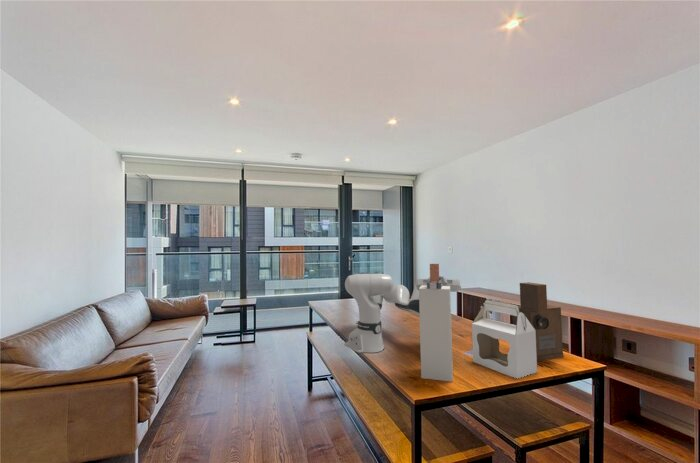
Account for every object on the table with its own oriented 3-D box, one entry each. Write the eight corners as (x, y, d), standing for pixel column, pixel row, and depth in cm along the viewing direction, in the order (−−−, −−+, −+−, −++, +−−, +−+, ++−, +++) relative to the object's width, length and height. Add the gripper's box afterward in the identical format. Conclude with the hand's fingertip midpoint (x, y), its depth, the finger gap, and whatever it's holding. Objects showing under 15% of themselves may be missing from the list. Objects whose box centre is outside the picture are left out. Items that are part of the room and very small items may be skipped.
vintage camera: (539, 365, 138) (535, 285, 140) (513, 355, 152) (510, 282, 154) (571, 360, 144) (568, 283, 146) (544, 350, 158) (541, 280, 159)
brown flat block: (433, 282, 148) (432, 261, 148) (441, 282, 147) (440, 261, 147) (428, 290, 123) (427, 265, 123) (437, 290, 122) (437, 265, 122)
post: (423, 368, 137) (421, 279, 139) (452, 371, 133) (449, 280, 135) (421, 378, 128) (418, 282, 129) (452, 381, 124) (449, 283, 125)
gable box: (472, 361, 144) (470, 300, 146) (491, 356, 150) (489, 297, 152) (518, 379, 125) (515, 308, 126) (538, 372, 131) (535, 304, 132)
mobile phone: (494, 349, 158) (476, 356, 149) (494, 351, 158) (476, 358, 149) (480, 346, 164) (462, 352, 156) (480, 348, 164) (462, 354, 156)
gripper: (461, 296, 151) (460, 284, 140) (417, 295, 157) (414, 283, 146) (460, 284, 154) (460, 271, 143) (418, 283, 161) (414, 271, 150)
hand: (436, 277), depth 145 cm, fingers open, 4 cm apart
